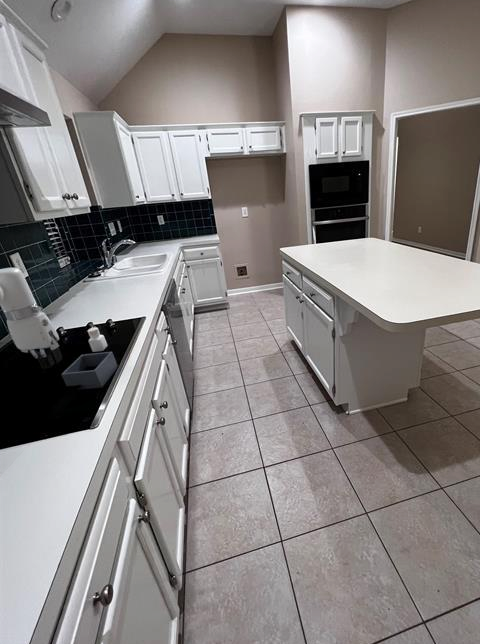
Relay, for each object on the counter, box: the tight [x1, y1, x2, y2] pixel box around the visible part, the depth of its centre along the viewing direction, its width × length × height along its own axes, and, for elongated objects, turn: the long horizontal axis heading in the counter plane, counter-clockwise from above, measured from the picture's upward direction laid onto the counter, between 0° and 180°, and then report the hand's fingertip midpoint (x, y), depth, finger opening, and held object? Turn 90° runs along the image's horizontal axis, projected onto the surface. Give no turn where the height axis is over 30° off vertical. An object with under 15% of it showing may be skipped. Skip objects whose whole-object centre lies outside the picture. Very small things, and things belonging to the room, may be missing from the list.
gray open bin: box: [60, 351, 119, 391], centre depth 99 cm, size 6×11×10 cm
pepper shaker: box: [87, 327, 108, 353], centre depth 113 cm, size 4×4×10 cm
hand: (49, 366), depth 97 cm, fingers closed
